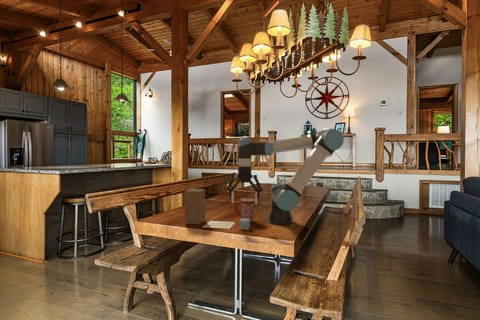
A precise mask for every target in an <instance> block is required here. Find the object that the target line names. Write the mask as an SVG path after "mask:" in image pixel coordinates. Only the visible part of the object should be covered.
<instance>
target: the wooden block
mask: <svg viewBox="0 0 480 320" xmlns="http://www.w3.org/2000/svg"><path fill="white" fill-rule="evenodd" d="M205 220H206V190H205V189H204V188H201V189H200V188H199V189H198V188H189V189H186V190H185V191H184V224H186V225H197V226H198V225H201V224H203V223H204V222H205Z"/></svg>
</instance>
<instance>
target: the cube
mask: <svg viewBox="0 0 480 320" xmlns="http://www.w3.org/2000/svg"><path fill="white" fill-rule="evenodd" d="M250 227H251V222H250V219H242V218H241V217H240V220H239V230H242V231H243V230H245V231H249V230H250Z"/></svg>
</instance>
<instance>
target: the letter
mask: <svg viewBox="0 0 480 320" xmlns="http://www.w3.org/2000/svg"><path fill="white" fill-rule="evenodd" d="M235 223H236V222H234V221H219V220H209V221H208V222H206V223H205V225H203V226H202V228H212V229H223V230H224V229H227V230H230V229H231V228H232V227H233V225H235Z"/></svg>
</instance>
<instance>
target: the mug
mask: <svg viewBox="0 0 480 320" xmlns="http://www.w3.org/2000/svg"><path fill="white" fill-rule="evenodd" d="M238 204H239V205H240V212H239V210H238V207H237V205H238ZM234 209H235V211H236V213H237V215H239V217H240V219H241V218H242V219H250V223H253V222H254V216H255V215H254V214H255V199H253V198H241V199H240V201H236V202H235V205H234Z"/></svg>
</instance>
